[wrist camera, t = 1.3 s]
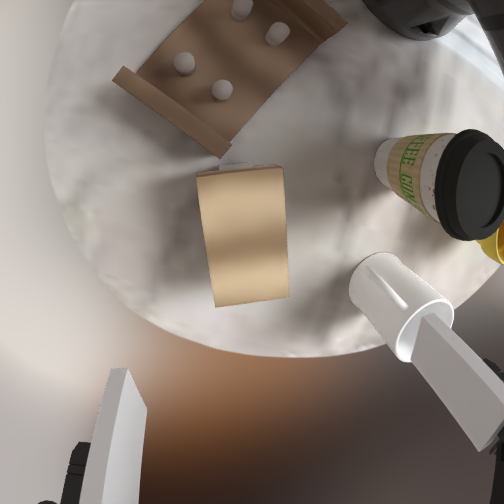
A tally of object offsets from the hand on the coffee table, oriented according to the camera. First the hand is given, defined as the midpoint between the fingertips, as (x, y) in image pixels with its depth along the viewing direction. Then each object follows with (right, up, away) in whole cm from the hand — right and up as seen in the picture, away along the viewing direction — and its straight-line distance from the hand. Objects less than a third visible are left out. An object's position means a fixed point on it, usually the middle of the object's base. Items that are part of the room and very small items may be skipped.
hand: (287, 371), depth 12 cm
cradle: (-4, +25, +14) cm, 29 cm away
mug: (+14, +2, +26) cm, 29 cm away
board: (-2, +7, +17) cm, 18 cm away
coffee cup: (+15, +16, +21) cm, 30 cm away
